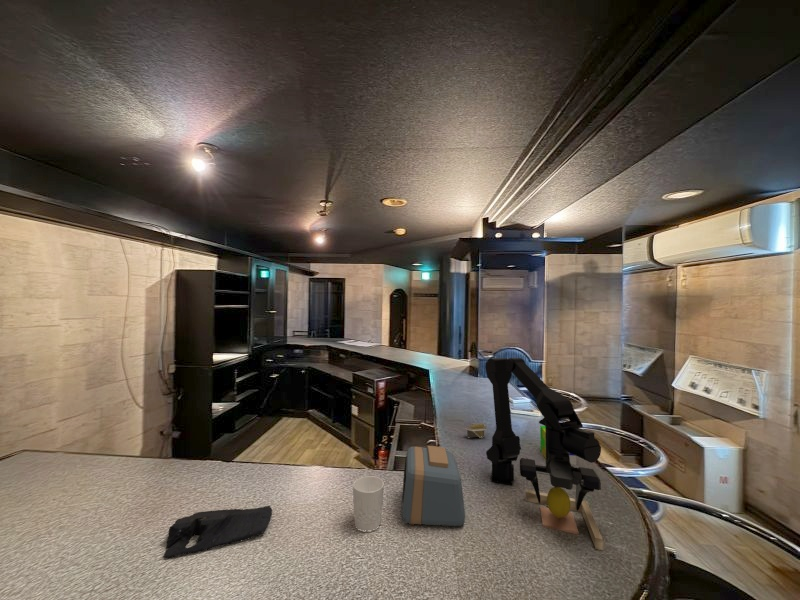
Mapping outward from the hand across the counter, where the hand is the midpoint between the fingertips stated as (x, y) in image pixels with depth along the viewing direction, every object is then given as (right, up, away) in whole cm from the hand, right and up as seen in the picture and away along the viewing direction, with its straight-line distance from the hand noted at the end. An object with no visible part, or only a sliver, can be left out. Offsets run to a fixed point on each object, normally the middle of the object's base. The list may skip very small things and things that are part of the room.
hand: (557, 505), depth 82 cm
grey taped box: (-33, -4, +4) cm, 33 cm away
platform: (-8, -7, +55) cm, 56 cm away
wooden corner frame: (0, -4, 0) cm, 4 cm away
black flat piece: (-86, -3, -6) cm, 86 cm away
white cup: (-50, -3, -3) cm, 50 cm away
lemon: (0, -3, 0) cm, 3 cm away
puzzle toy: (+19, -7, +37) cm, 43 cm away
